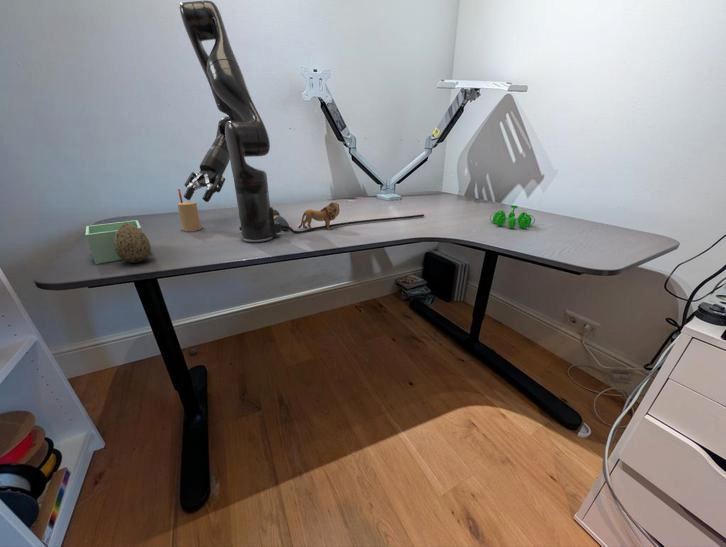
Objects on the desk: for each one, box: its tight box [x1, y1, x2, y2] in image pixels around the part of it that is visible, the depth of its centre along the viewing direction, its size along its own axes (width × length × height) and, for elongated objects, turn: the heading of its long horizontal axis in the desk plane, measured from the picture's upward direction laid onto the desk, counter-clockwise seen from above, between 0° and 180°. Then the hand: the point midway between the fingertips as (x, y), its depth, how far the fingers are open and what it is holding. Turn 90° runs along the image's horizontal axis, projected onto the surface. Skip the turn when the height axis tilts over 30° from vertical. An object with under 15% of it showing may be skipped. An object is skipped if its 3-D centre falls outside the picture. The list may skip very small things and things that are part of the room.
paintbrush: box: [273, 208, 290, 231], centre depth 112 cm, size 20×5×5 cm, turn 38°
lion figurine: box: [297, 201, 341, 231], centre depth 107 cm, size 15×5×9 cm, turn 103°
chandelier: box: [489, 205, 536, 230], centre depth 114 cm, size 15×15×7 cm
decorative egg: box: [114, 223, 151, 264], centre depth 76 cm, size 7×7×10 cm
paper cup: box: [177, 188, 202, 233], centre depth 104 cm, size 6×6×14 cm
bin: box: [84, 219, 143, 265], centre depth 82 cm, size 11×10×8 cm
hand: (195, 199), depth 106 cm, fingers open, 8 cm apart
